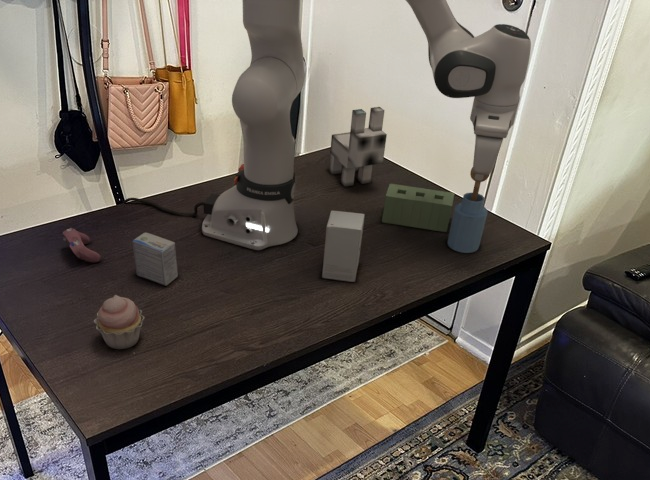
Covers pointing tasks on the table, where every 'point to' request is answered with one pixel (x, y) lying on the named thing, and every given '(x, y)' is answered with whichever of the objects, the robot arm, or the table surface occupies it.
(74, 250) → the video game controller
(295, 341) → the table surface
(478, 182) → the spoon
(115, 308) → the cupcake
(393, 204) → the stand
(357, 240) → the white packaging box
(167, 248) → the medicine box
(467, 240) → the bottle
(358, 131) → the blocky rabbit figurine
